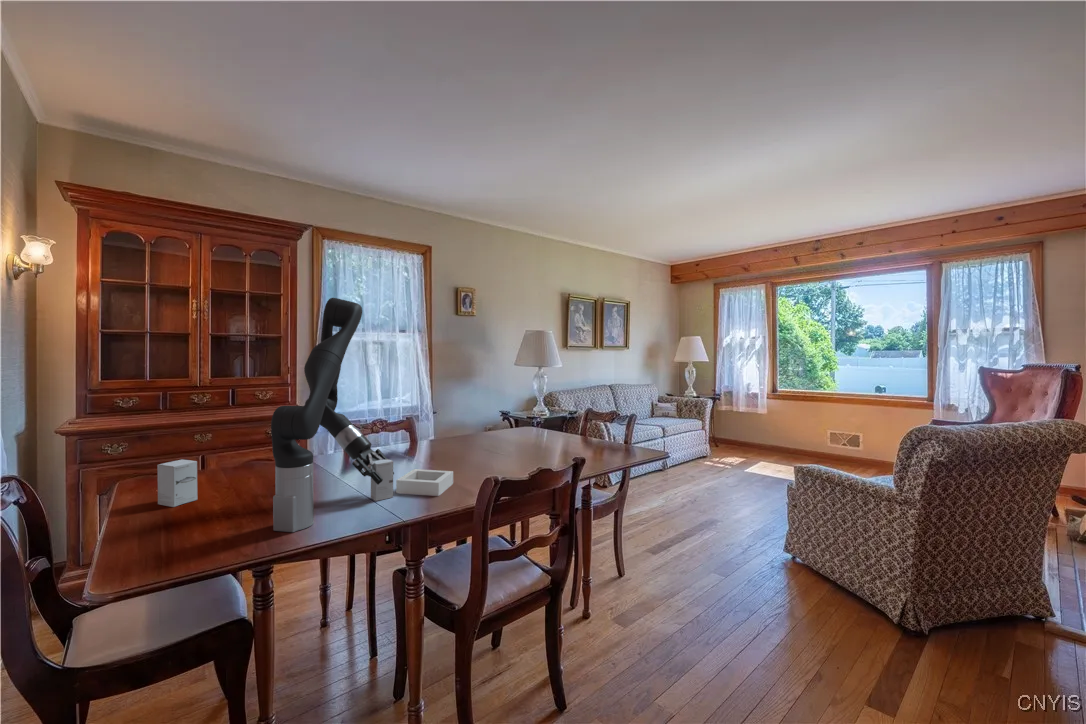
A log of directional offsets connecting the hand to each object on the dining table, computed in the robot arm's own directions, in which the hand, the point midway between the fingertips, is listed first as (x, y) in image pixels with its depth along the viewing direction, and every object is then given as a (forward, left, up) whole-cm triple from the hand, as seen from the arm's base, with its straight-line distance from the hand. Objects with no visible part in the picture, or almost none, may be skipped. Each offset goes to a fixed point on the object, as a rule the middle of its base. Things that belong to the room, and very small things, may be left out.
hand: (386, 478), depth 152 cm
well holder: (+12, -8, -6) cm, 16 cm away
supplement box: (-16, +62, -7) cm, 64 cm away
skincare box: (0, +2, -7) cm, 7 cm away
